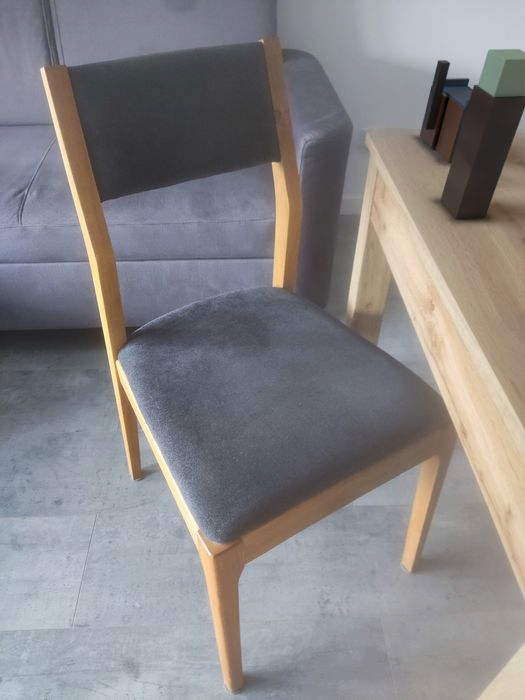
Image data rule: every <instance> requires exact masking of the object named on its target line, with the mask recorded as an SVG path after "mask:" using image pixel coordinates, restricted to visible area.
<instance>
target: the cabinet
mask: <svg viewBox="0 0 525 700" xmlns="http://www.w3.org/2000/svg"><path fill="white" fill-rule="evenodd" d="M469 83H470V78H468V77H464V78H463V77H462V78H460V77H459V78H457V77H456V78H446V82H445V85H444V89H443V93H444V94H445V95H447V99H446V103H445V107H444V111H443V115H442V118H441V122H440V126H439V130H438V134H437V138H436V141H435V145H434V148H433V149H434V150H435V152H436V153H437V154H438V155H440V157H442V159H443V160H445V162H447V164H451V162H452V159H453V155H454V152H455V149H456V145H457V142H458V138H459V135H460V131H461V128H462V125H463V121H464V118H465V114H466V111H467V107H468V104H469V101H470V97H471V94H472V90H473V88H471V87H470V86H469Z"/></svg>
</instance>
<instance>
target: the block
mask: <svg viewBox="0 0 525 700" xmlns="http://www.w3.org/2000/svg"><path fill="white" fill-rule="evenodd" d="M477 85H478V86H479V87H480V88H481V89H483V90H484V91H486V92H487V93H489V94H490V95H491V96H493V97H517V96H525V51H524V50H522V49H520V48H507V49H506V48H504V49H502V48H501V49H498V48H497V49H488V50H487V53H486V57H485V60H484V63H483V68H482V70H481V73H480V77H479V81H478V83H477Z"/></svg>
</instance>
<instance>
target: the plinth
mask: <svg viewBox="0 0 525 700" xmlns="http://www.w3.org/2000/svg"><path fill="white" fill-rule="evenodd" d="M472 89H473V90H472V94H471V97H470V101H469V104H468V107H467V111H466V114H465V118H464V121H463V125H462V128H461V131H460V135H459V138H458V142H457V145H456V149H455V152H454V155H453V159H452V162H451V163H450V166H449V170H448V172H447V176H446V179H445V183H444V187H443V190H442V193H441V197H440V200H439V203H440V204H441V205H442V206H443V208H444V209H446V211H447V212H448V213H449V214H450V216H452V218H453V219H454V220H470V219H471V220H472V219H485V218H486V215H487V213H488V211H489V207H490V205H491V202H492V199H493V197H494V194H495V191H496V188H497V187H498V186H497V185H498V183H499V180H500V178H501V175H502V172H503V169H504V167H505V166H504V165H505V163H506V160H507V158H508V155H509V153H510V150H511V147H512V144H513V142H514V139H515V136H516V134H517V131H518V128H519V126H520V122H521V119H522V117H523V114H524V111H525V96H517V97H493V96H491V95H490V94H489V93H487V92H486V91H484V90H483V89H481V88H480V87H479V86H478V84H473V87H472Z"/></svg>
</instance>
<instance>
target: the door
mask: <svg viewBox="0 0 525 700" xmlns="http://www.w3.org/2000/svg"><path fill="white" fill-rule="evenodd" d="M450 65H451V62H450V61H449V60H446V59H439V60H437V64H436V66H435V67H436V68H435V72H434V75H433V80H432V85H431V87H430V90H429V95H428V98H427V103H426V107H425V111H424V114H423V115H424V116H423V119H422V122H421V123H422V124H421V128H420V132H419V137H420V138H421V140H423V141H424V142H425V143H426V145H428V147H429V148H430V149H435V148H434V145H435V141H436V138H437V134H438V130H439V126H440V122H441V118H442V115H443V111H444V107H445V103H446V99H447V95H445V94H444V93H443V89H444V85H445V82H446V79H448V78H447V77H448V73H449V69H450Z"/></svg>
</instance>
